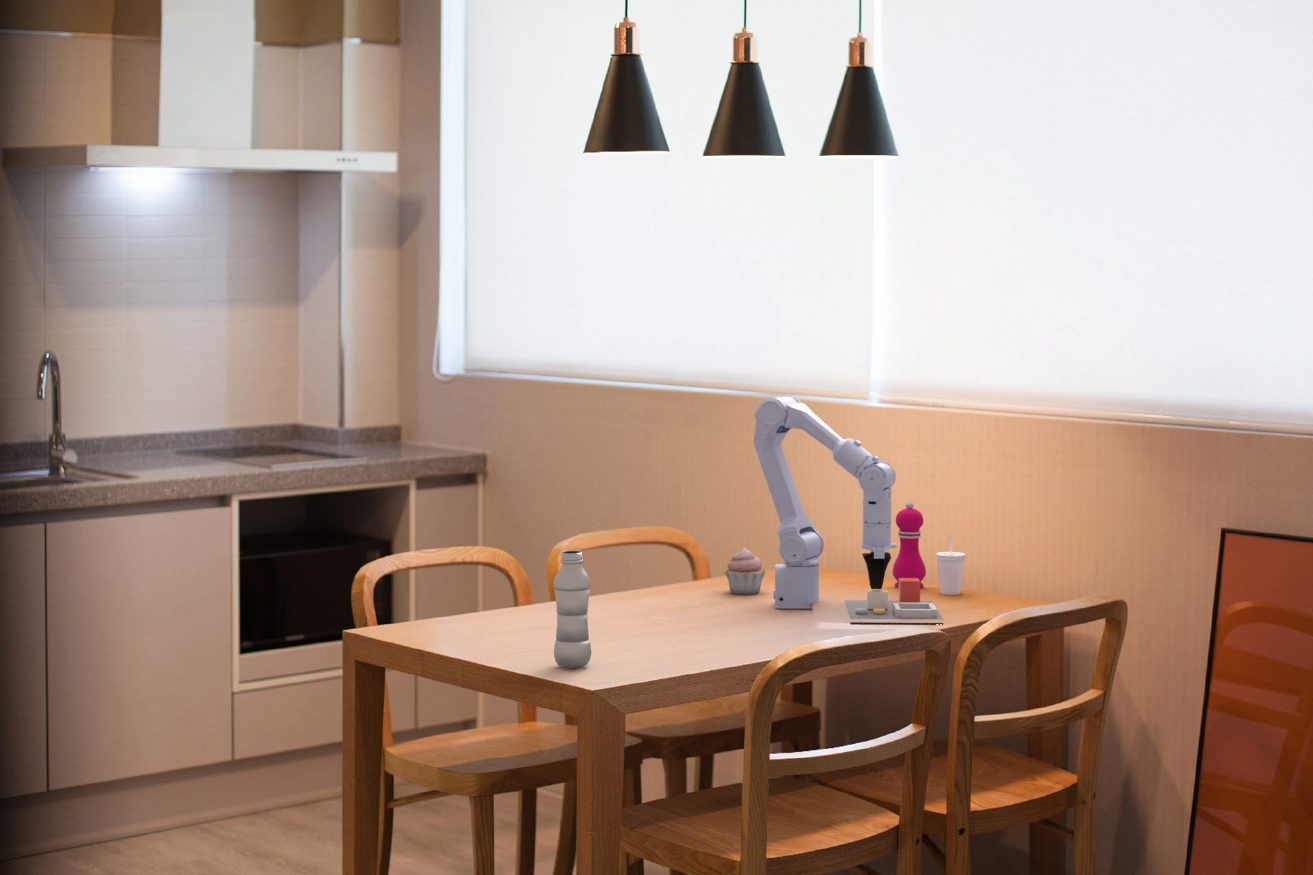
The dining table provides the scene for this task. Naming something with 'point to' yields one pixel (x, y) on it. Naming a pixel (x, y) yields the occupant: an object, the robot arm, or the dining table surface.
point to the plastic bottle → (572, 612)
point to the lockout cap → (909, 590)
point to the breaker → (877, 599)
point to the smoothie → (950, 570)
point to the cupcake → (745, 573)
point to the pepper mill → (909, 545)
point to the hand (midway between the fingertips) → (876, 588)
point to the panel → (893, 612)
